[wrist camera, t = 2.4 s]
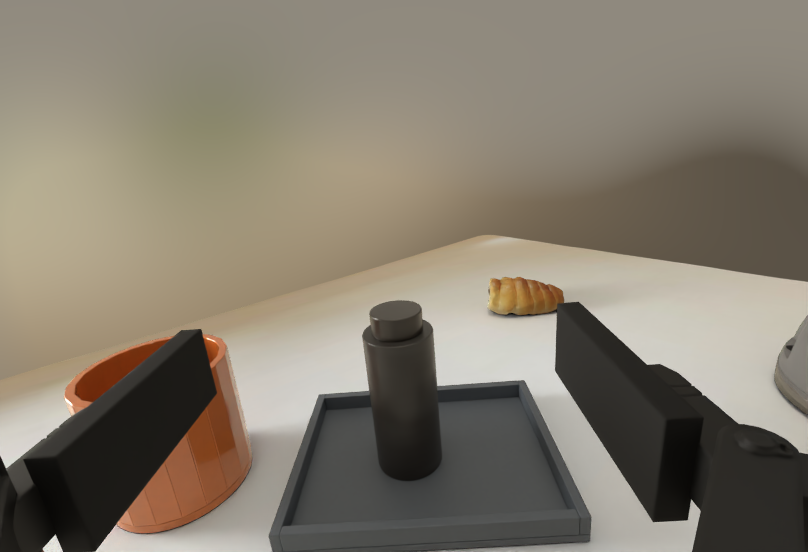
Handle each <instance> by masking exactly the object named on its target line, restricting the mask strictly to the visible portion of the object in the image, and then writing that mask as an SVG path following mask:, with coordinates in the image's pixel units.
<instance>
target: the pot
mask: <svg viewBox="0 0 808 552" xmlns="http://www.w3.org/2000/svg"><path fill="white" fill-rule="evenodd" d="M172 337H174V336H171V337H165V338H160V339H155V340H152V341H148V342H145V343H141V344H138V345H135V346H132V347H129V348H127V349H124V350H122V351H119V352H117V353H114V354H112V355H110V356H108V357H106V358H104V359H102V360H100V361H98V362H96V363H94V364H93V365H91V366H89V367H88V368H86V369H85V370H84V371H82V372H81V373H79V374H78V375H77V376H75V378H74V379H73V380H72V381H71V382H70V383H69V384H68V385H67V387H66V389H65V395H64V399H65V402H66V404H67V407H68V410H69V412H70V415H71V416H72V415H74V414H75V413H77V412H79V411H80V410H82V409H84V408H86V407H88V406H89V405H90V404H91V403H93V402H94V401H95V400H96V399H98V398H99V397H100V396H101V395H102V394H104V393H105V392H106V391H107V390H109V389H110V388H111V387H112V386H114V385H115V384H116V383H117V382H118V381H120V380H121V379H122V378H123V377H125V376H126V375H127V374H128V373H129V372H131V371H132V370H133V369H134V368H136V367H137V366H138V365H139V364H141V363H142V362H143V361H144V360H145V359H147V358H148V357H149V356H150V355H152V354H153V353H154V352H155V351H157V350H158V349H159V348H160V347H161V346H163V345H164V344H165V343H166V342H168V341H169V340H170V339H171V338H172ZM203 338H204V342H205V346H206V350H207V354H208V358H209V362H210V366H211V370H212V374H213V378H214V382H215V386H216V390H217V394H216V396H215V397H214V398H213V399H212V401H211V402H210V403H209V405H208V406H207V407H206V408H205V410H204V411H203V412H202V414H201V415H200V416H199V418H198V419H197V420H196V421H195V423H194V424H193V425H192V427H191V428H190V429H189V431H188V432H187V433H186V434H185V436H184V437H183V438H182V440H181V441H180V442H179V443H178V445H177V446H176V447H175V449H174V450H173V451H172V453H171V454H170V455H169V456H168V458H167V459H166V460H165V462H164V463H163V464H162V465H161V467H160V468H159V469H158V471H157V472H156V473H155V475H154V476H153V477H152V478H151V480H150V481H149V482H148V484H147V485H146V486H145V488H144V489H143V490H142V491H141V493H140V494H139V495H138V497H137V498H136V499H135V500H134V502H133V503H132V504H131V506H130V507H129V508H128V510H127V511H126V512H125V513H124V515H123V516H122V517H121V519H120V520H119V521H118V522H117V525H118V526H119V527H120V528H122V529H124V530H126V531H129V532H134V533H155V532H161V531H166V530H170V529H173V528H176V527H179V526H182V525H184V524H187V523H189V522H191V521H193V520H196V519H198V518H200V517H201V516H203V515H205V514H207V513H208V512H210V511H211V510H213V509H214V508H216V507H217V506H219V505H220V504H221V503H222V502H224V501H225V500H226V499H227V498H228V497H229V496H230V495H231V494H233V493H234V492H235V490H236V489H237V488H238V487H239V486H240V485H241V483H242V482H243V480H244V479H245V477H246V476H247V474H248V472H249V469H250V467H251V463H252V451H251V444H250V439H249V435H248V431H247V427H246V423H245V419H244V415H243V410H242V406H241V402H240V398H239V394H238V390H237V386H236V381H235V377H234V373H233V369H232V365H231V361H230V357H229V352H228V348H227V345H226V344H225V342H224V341H223V340H222V339H221V338H218V337H216V336H213V335H206V334H203Z"/></svg>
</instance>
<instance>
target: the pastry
mask: <svg viewBox="0 0 808 552" xmlns="http://www.w3.org/2000/svg"><path fill="white" fill-rule="evenodd" d="M488 293H489V296H490V297H489V300H488V303H489V304H488V305H487V308H488V309H490V310H491V311H493V312H496V313H497V314H505V315H507V314H508V313H515V314H516V315H526V314H533V315H535V314H541V313H548V312H551V311H553V310H556V309H557V303H564V297H563V291H562V290H561V289H559V288H557V287H555V286H553V285H550V284H548V285H545V284H544V283H541V282H538V281H535V280H526V279H524V278H521V277H517V278H515V279H512V278H508V277H504V278H502V279H501V280H498V279H490V283H489V289H488Z"/></svg>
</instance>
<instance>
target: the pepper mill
mask: <svg viewBox="0 0 808 552" xmlns="http://www.w3.org/2000/svg"><path fill="white" fill-rule="evenodd" d="M370 323H371V325H370V326H368V327H367V328H366V329H365V330H364V332H363V335H362V338H363V345H364V353H365V361H366V368H367V376H368V384H369V391H370V399H371V407H372V414H373V422H374V430H375V437H376V445H377V453H378V461H379V465H380V467H381V469H382V470H383V471H384V473H386V474H387V475H388V476H390V477H392V478H394V479H397V480H402V481H413V480H418V479H422V478H424V477H427V476H428V475H430V474H431V473H433V472H434V471H435V470H436V469H437V468H438V466H439V465H440V463H441V460H442V447H441V433H440V419H439V406H438V392H437V378H436V364H435V350H434V337H433V328H432V326H431V324H430V323H428V322H427V321H425V320H423V319H422V308H421V306H420V305H419V304H417V303H415V302H411V301H390V302H385V303H382V304H379V305H377V306H375V307H373V308H372V309H371V310H370Z"/></svg>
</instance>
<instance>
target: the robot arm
mask: <svg viewBox="0 0 808 552" xmlns="http://www.w3.org/2000/svg"><path fill="white" fill-rule="evenodd" d="M555 371H556V373H557V374H558V376H559V377H560V379H561V381H562V382H563V384H564V385H565V387H566V388H567V390H568V391H569V393H570V394H571V396H572V397H573V399H574V401H575V402H576V404H577V405H578V407H579V408H580V410H581V411H582V413H583V414H584V416H585V418H586V419H587V421H588V422H589V424H590V425H591V427H592V428H593V430H594V431H595V433H596V434H597V436H598V438H599V439H600V441H601V442H602V444H603V445H604V447H605V448H606V450H607V451H608V453H609V454H610V456H611V458H612V459H613V461H614V462H615V464H616V465H617V467H618V468H619V470H620V471H621V473H622V475H623V476H624V478H625V479H626V481H627V482H628V484H629V485H630V487H631V488H632V490H633V491H634V493H635V495H636V496H637V498H638V499H639V501H640V502H641V504H642V505H643V507H644V508H645V510H646V511H647V513H648V515H649V516H650V518H651V519H652V521H653V522H664V521H683V520H688V515H689V509H690V502H691V499H692V500H693V502H694V503H695V504H696V505H697V507H698V508H699V509H700V510H701V513H700V518H699V522H698V527H697V531H696V536H695V541H694V545H693V550H692V552H808V454H803V453H799V452H798V450H797V449H796V448H795V447H794V446H793V445H792V444H791V443H790V442H789V441H787V440H786V439H784V438H782V437H780V436H779V435H777V434H775V433H773V432H770V431H767V430H765V429H762V428H759V427H754V426H749V425H745V424H738V423H737V422H735V421H734V420H733V419H732V418H731V417H730V416H728V415H727V414H726V413H725V412H724V411H722V410H721V409H720V408H719V407H718V406H717V405H715V404H714V403H713V402H712V401H711V400H709V399H708V398H707V397H706V396H703V395H702V393H701V392H700V391H699V390H698V389H696V388H695V387H694V386H691V383H689V382H688V381H687V380H686V379H685V378H683V377H682V376H681V375H680V374H679V373H677V372H675V371H673V370H671V369H669V368H667V367H665V366H663V365H660V364H655V365H647V364H646V363H644V362H643V361H642V360H641V359H640V358H639V357H638V356H637V355H636V354H635V353H634V352H633V351H631V350H630V349H629V348H628V347H627V346H626V345H625V344H624V343H623V342H622V341H621V340H619V339H618V338H617V337H616V336H615V335H614V334H613V333H612V332H611V331H610V330H609V329H608V328H606V327H605V326H604V325H603V324H602V323H601V322H600V321H599V320H598V319H597V318H596V317H595V316H593V315H592V314H591V313H590V312H589V311H588V310H587V309H586V308H585V307H584V306H583V305H582V304H580V303H579V302H571V303H557V330H556V362H555ZM774 377H775V382H776V385H777V386H778V388H779V390H780V391H781V392H782V394H783V395H784V396H785V397H786V398H787V399H788V400H789V401H790V402H791V403H793V404H794V405H795V406H796V407H797V408H799V409H800V410H801V411H803V412H804V413H806V414H807V415H808V315H807V317H806V318H805V320H804V321H803V322H802V324H801V325H800V327H799V329H798V330H797V332H796V334H795V336H794V337H793V338H791V339H790V340H789V341H788V342H787V343H786V344H785V345H784V347H783V348H782V350H781V353H780V354H779V356H778V360H777V365H776V369H775V375H774ZM216 394H217V390H216V386H215V382H214V378H213V374H212V370H211V366H210V362H209V358H208V354H207V350H206V346H205V342H204V338H203V334H202V330H201V329H195V330H181V331H180V332H179V333H177V334H176V335H175V336H174V337H172V338H171V339H170V340H169V341H168V342H166V343H165V344H164V345H163V346H161V347H160V348H159V349H158V350H157V351H155V352H154V353H153V354H152V355H150V356H149V357H148V358H147V359H145V360H144V361H143V362H142V363H141V364H139V365H138V366H137V367H136V368H134V369H133V370H132V371H131V372H129V373H128V374H127V375H126V376H125V377H123V378H122V379H121V380H120V381H118V382H117V383H116V384H115V385H114V386H112V387H111V388H110V389H109V390H107V391H106V392H105V393H104V394H102V395H101V396H100V397H99V398H98V399H96V400H95V401H94V402H93V403H91V404H90V405H89V406H88V407H86V408H84V409H82V410H80V411H79V412H77V413H75V414H74V415H72V416H71V417H70V418H69V419H67V420H66V421H65V422H64V423H62V424H61V425H60V426H59V428H56V429H55V430H54V431H53V432H51V433H50V434H49V435H48V436H47V438H46V439H43V440H41V441H40V442H39V443H38V444H36V445H35V446H34V447H33V448H31V449H30V450H29V451H28V452H26V453H25V454H24V455H23V456H21V457H20V458H19V459H18V460H16V461H15V462H14V463H13V464H11V465H10V466H9V467H8V468H5V466H4V463H3V461H2V459H1V457H0V552H44V551H43V549H42V548H43V547H44V546H45V545H46V544H47V543H48V542H49V541H50V540H51V539H52V537H53V536H54V535H55V534H56V536H57V539H58V541H59V543H60V545H61V548H62V550H63V552H95V551H96V550H97V548H98V547H99V546H100V545H101V543H102V542H103V541H104V539H105V538H106V537H107V535H108V534H109V533H110V532H111V530H112V529H113V528H114V526H115V525H116V524H117V522H118V521H119V520H120V519H121V517H122V516H123V515H124V513H125V512H126V511H127V510H128V508H129V507H130V506H131V504H132V503H133V502H134V500H135V499H136V498H137V497H138V495H139V494H140V493H141V491H142V490H143V489H144V488H145V486H146V485H147V484H148V482H149V481H150V480H151V478H152V477H153V476H154V475H155V473H156V472H157V471H158V469H159V468H160V467H161V465H162V464H163V463H164V462H165V460H166V459H167V458H168V456H169V455H170V454H171V453H172V451H173V450H174V449H175V447H176V446H177V445H178V443H179V442H180V441H181V440H182V438H183V437H184V436H185V434H186V433H187V432H188V431H189V429H190V428H191V427H192V425H193V424H194V423H195V421H196V420H197V419H198V418H199V416H200V415H201V414H202V412H203V411H204V410H205V408H206V407H207V406H208V405H209V403H210V402H211V401H212V399H213V398H214V397H215V396H216Z"/></svg>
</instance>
